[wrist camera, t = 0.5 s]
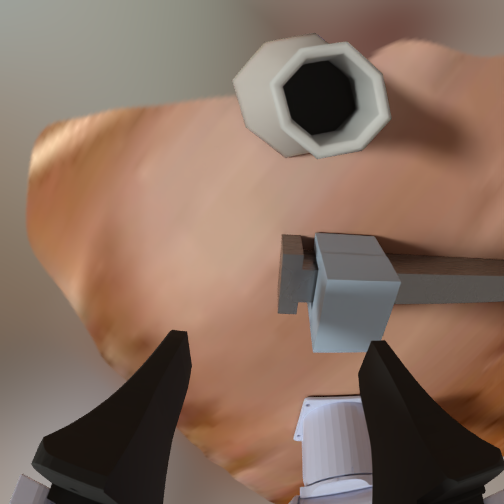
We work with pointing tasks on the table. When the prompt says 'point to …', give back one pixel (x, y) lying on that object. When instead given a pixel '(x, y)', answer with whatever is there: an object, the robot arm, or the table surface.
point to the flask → (312, 97)
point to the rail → (408, 270)
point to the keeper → (350, 293)
